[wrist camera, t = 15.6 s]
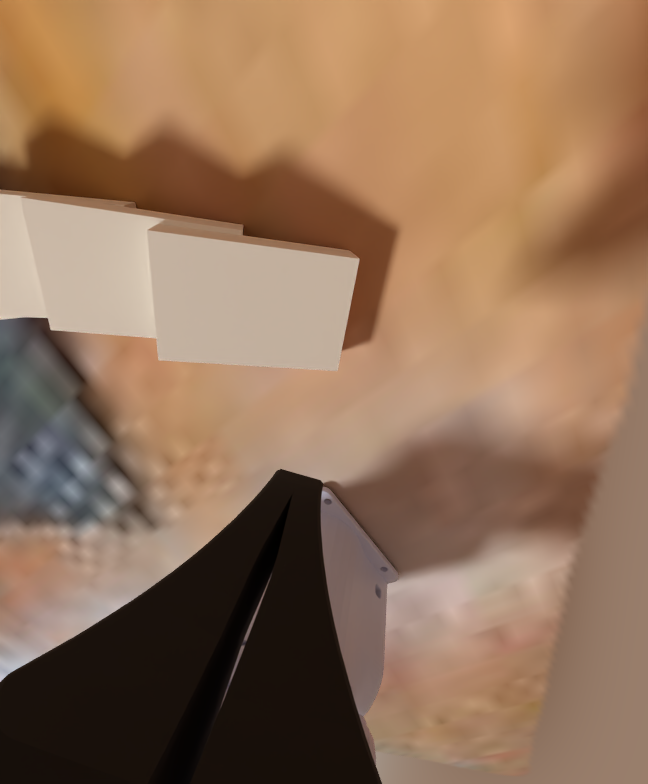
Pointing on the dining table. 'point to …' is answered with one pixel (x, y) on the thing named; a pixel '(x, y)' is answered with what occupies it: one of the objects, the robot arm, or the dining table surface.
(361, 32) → the dining table surface
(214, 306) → the domino
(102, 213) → the domino
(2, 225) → the domino
